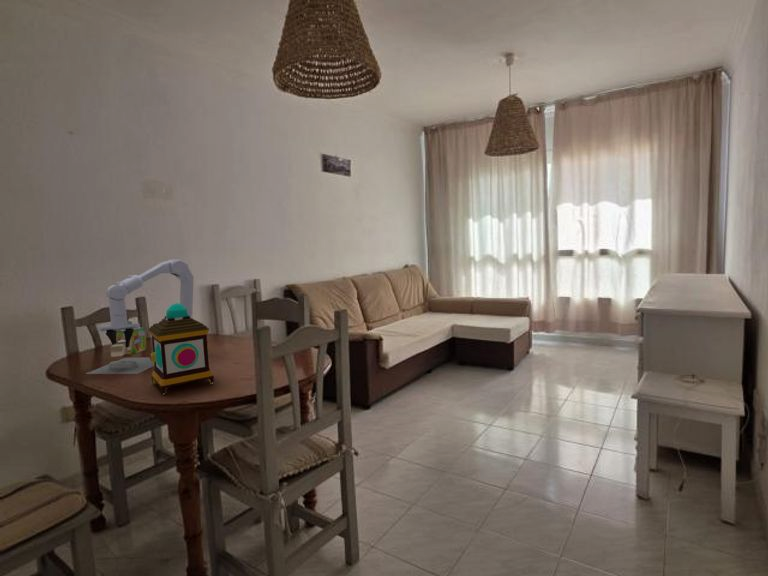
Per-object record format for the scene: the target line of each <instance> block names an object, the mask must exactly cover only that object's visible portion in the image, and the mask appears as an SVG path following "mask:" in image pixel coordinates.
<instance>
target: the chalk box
mask: <svg viewBox="0 0 768 576" xmlns="http://www.w3.org/2000/svg"><path fill="white" fill-rule="evenodd" d="M127 324H133V322H132V321H130V320H129V321H127ZM124 331H125V330H116V341H117V342H118V341H120V340H125V335H124ZM146 335H147V334H146V327H141V326H140V328H139V329H134V331H133V333H132V336H131V345H132V349H131V350H129V351H128V352H127V353H125V354H124V355H136V354H139V353H141V352H144V351H147V350H148V347H147V339H146Z"/></svg>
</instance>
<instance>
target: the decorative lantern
mask: <svg viewBox="0 0 768 576" xmlns="http://www.w3.org/2000/svg"><path fill="white" fill-rule="evenodd" d="M147 330H148V333H149V334H150V336H151V344H152V352H151V353H150V354H149V357H150V360H151V361H152V362H154V366H153V367H154V369H153V371H152V374H151V382H152V384H153V383H156V384H157V385H158V386H159V388H160V391H161V392H160V393H161V395H162V394H163V393H166V394H167V389H168V388H170V387H175V386H181V385H185V384H190V383H195V382H200V381H203V380H208V383H209V382H210V383H212V382H214V383H215V378H214V374H213V372H212V370H211V369H210V364H209V350H210V344H209V341H208V333H209V332H210V328H209V327H207V325H206V324H204V323H203V322H200V321H198V320H196V319H194V318H193V319H192V318H190V316H189V315H188V312H187V309H186V308H185V307H184V306H183V305H181V304H180V302H175V303H173V304H171V305H170V306H169V307H168V308H167V310H166V315H165V316H164V318H162V319H161V320H160V321H159V322H158V323H156V322H155V323H154V324H153V323H152V325H151V326H150V327H149V328H147Z"/></svg>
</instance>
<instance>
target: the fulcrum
mask: <svg viewBox="0 0 768 576" xmlns="http://www.w3.org/2000/svg"><path fill="white" fill-rule="evenodd" d="M109 364H110V366H109V370H132V369H135V368H137V367H138V363H136V361H118V360H113V361H111V362H109Z"/></svg>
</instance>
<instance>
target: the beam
mask: <svg viewBox="0 0 768 576" xmlns="http://www.w3.org/2000/svg"><path fill="white" fill-rule="evenodd" d="M109 347H110V348H109V350H110V356H111V357H122V356H124V355H126V354H125V353H127V352H128V351H129V350H131V349H132V345H131V339H130V346H129V347H126V341H125V340H120V341H118V342H117V343H115V344H114V345H112V344H111V346H109Z"/></svg>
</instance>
